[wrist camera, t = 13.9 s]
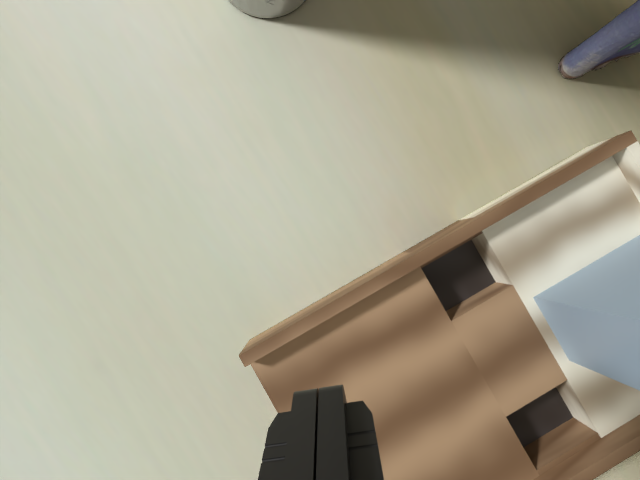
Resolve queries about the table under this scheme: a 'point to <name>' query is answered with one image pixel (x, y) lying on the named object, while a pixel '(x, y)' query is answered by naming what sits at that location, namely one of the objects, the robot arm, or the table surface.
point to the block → (600, 314)
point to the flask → (605, 45)
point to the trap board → (477, 336)
